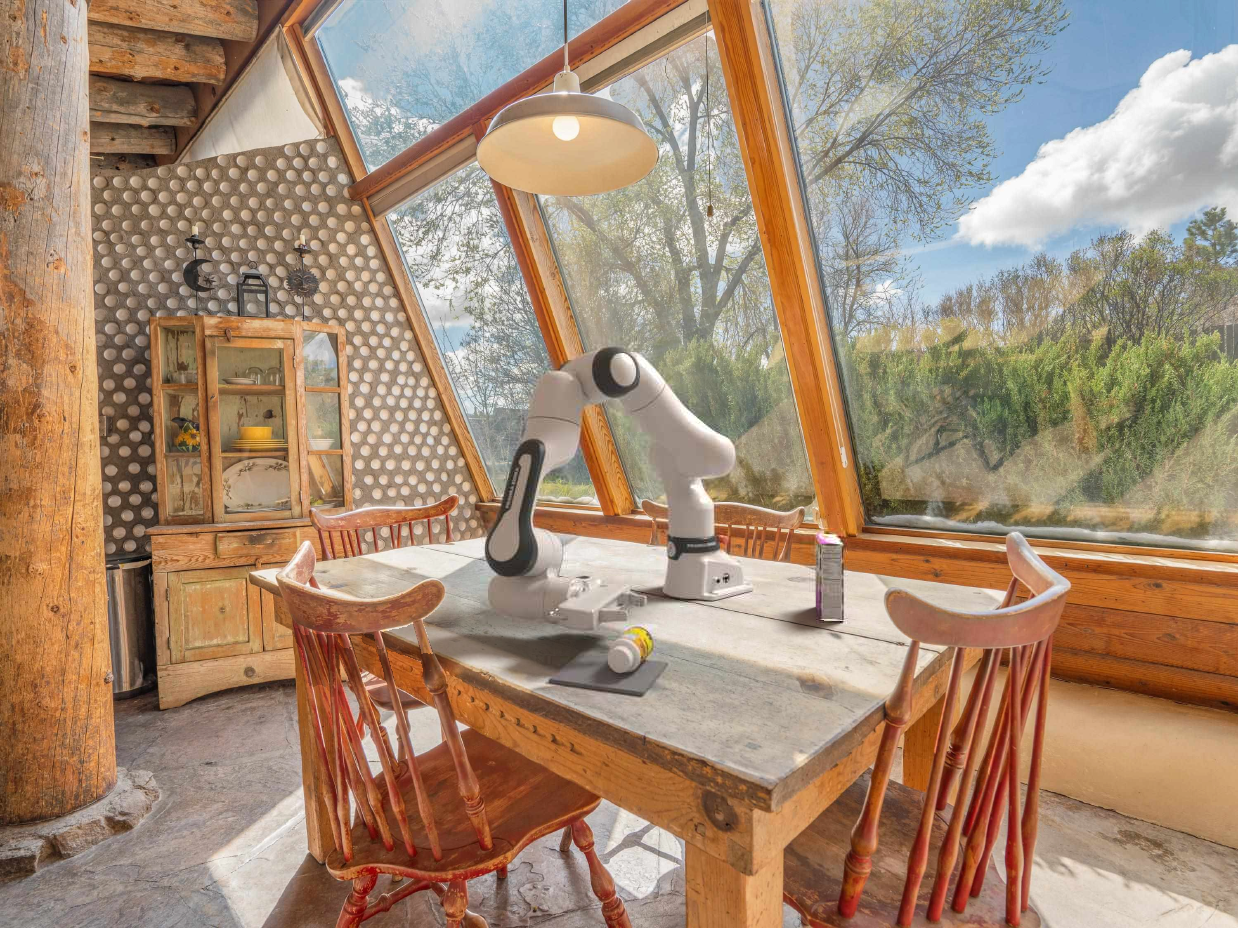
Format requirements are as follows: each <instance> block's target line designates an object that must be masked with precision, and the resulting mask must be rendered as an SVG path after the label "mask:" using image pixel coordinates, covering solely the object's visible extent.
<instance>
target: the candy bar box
mask: <svg viewBox="0 0 1238 928" xmlns="http://www.w3.org/2000/svg"><path fill="white" fill-rule="evenodd" d="M844 546H845V545H844V543H843V542H842V540H841V538H840V537H839V536H838V535H837V534H829V533H823V534H822V533H817V534H814V562H815V563H814V564H815V565H814V567H815V569H814V570H815V572H814V573H815V577H814V579H815V584H814V585H815V608H816V611H817V610H818V611H817V613H819V614H818V617H819V616H820V617H819V620H820V619H837V620H844V621H845V617H844V615H845V612H844V610H845V609H844V608H845V604H844V603H845V601H844V600H845V593H844V590H845V588H844V585H845V584H844V581H845V579H844V577H845V575H844V574H845V573H844V572H845V571H844V568H845V566H844V565H845V564H844V563H845V562H844Z"/></svg>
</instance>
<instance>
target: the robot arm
mask: <svg viewBox="0 0 1238 928" xmlns="http://www.w3.org/2000/svg"><path fill="white" fill-rule="evenodd" d="M532 394H533V395H532V398H531V402H530V406H529V409H528V413H527V419H526V426H525V430H524V434H523V438H522V441H521V444H520V445H519V446H518V447H517V450H516V451H515V453H514V456H513V459H512V462H511V466H510V469H509V473H508V477H507V481H506V484H505V488H504V490H503V491H504V492H503V496H502V499H501V503H500V506H499V511H498V514H497V516H496V519H495V521H494V523H493V524H492V526H491V528H490V530H489V532H488V534H487V536H486V538H485V542H484V555H485V557H484V558H485V560H486V562H487V564H488V566H489V567H490V569H491V570H492V571H493V572H494V573H495V574H496V575H495V576H493V577H492V578H491V580H490V581H489V584H488V588H487V597H488V602H489V605H490V608H491V609H492V610H493V611H494V612H495V613H496V614H497V615H498V616H501V617H503V618H507V619H511V620H516V621H521V622H530V623H533V622H539V621H540V622H541V621H542V622H544V623H545V624H549V625H557V626H559V627H561V628H562V627H564V628H567V629H573V630H580V631H593V630H595V629H596V628H598V627H599V626H600V625H601V624H602V623H612V622H627V621H628V620H629V619H630V616H631V615H630V610H629V608H623V607H625V606H626V605H635V607H641V608H643V607H645V606H646V605H647V603H648V601H647V596H646V595H641V594H637V593H634V592H632V591H631V586H630V585H629V583H626V582H622V581H617V580H609V579H601V578H595V579H594V576H592V575H581V576H576V577H569V576H567V577H562V576H561V577H560V576H559V575H560V572H561V568H562V563H563V559H564V546H563V543H562V541H561V539H560V537H559V536H558V535H557V534H555V532H553V531H550V530H548V529H545V528H541V527H536V526H535V527H534V521H533V518H534V513H535V509H536V505H537V500H538V497H539V494H540V488H541V485H542V483H543V481H544V478H545V476H546V475H547V474H548V473H549V472H551V471H553V470H555V469H559V468H562V467H563V466H565V465H567V464H569V463H570V462H571V461H572V460H573V458H575V455H576V453H577V450H578V447H579V443H580V437H581V432H582V425H583V424H582V423H583V413H584V412H583V411H584V409H585V407H586V406H587V407H588V406H595V405H600V404H603V403H605V402H608V401H610V400H613V399H617V400H618V401H619V403H620V404H621V406H622V407H623V408H624V409H625V410H626V412H627V413H628V414H629V416H630V417H631V419H632V420H633V421H634V422H635V423H636V425H637V426H638V427H639V428H640V429H641V431H642V432H643V433H644V435H646V436H647V437H648V438H650V439H651V440H653V441H652V442H651V444H650V447H649V451H648V457H649V462H650V464H651V466H652V467H653V468H654V469H655V471H656V472H657V474H658V475H659V477H660V480H661V483H662V485H663V486H662V487H663V490H664V492H665V496H666V502H667V516H668V517H667V519H668V520H667V521H668V533H667V534H666V555H667V566H666V573H665V579H664V584H663V588H662V593H664V594H665V595H667V596H669V597H674V598H680V599H685V600H687V599H690V600H692V599H693V600H695V599H696V600H705V601H717V600H721V599H725V598H729V597H732V596H736V595H740V594H743V593H748V592H751V591H752V592H753V591H754V585H753V584H752V583H750V582H749V581H746V580H745V578H744V571H743V568H742V565H741V563H739V561H737V560H736V559H734V558H733V557H732V556H730V555H729V554H728V553H726V552H725V551H724V550H723V549H721V545H720V544H723V545H728V543H729V539H730V538H729V537H728V536H726V535H722V534H721V535H717V534H716V533H715V504H714V502H713V499H712V498H711V497H710V496H709V494H708V493H707V492H706V490H705V487H704V486H703V482H702V480H712V479H716V478H721V477H725V476H726V475H729V474H730V472H731V471H732V470H733V468H734V466H735V464H736V458H737V457H736V449H735V448H736V447H735V446H734V443H733V442H732V440H731V439H729V438H728V437H727V436H724V435H722V434H721V433H719V432H716V431H715V430H713V429H712V428H711V427H709V426H708V425H707V424H705V423H704V422H703V421H702V420H701V419H700V418H698V417H697V416H696V415H695V414H693V413H692V412H691V411H690V410H689V409H688V408H687V407H686V406H685V405H684V404H683V403H682V402H681V401H680V399H679V398H678V397H677V395H676V394H675V393H674V391H673V390H672V389H671V388H670V386H669V384H668V383H667V382H666V380H664V378H663V377H662V376H661V374H660V373H659V372H658V371H657V369H656V368H655V367H654V366H653V365H652V364H651V363H650V362H649V361H648V360H646V358H644V356H642V355H641V354H640V353H639V352H635V351H628V350H626V349H624V348H622V347H618V346H607V347H603V348H602V349H597V350H592V351H588V352H585V353H583V354H581V355H580V356H578V357H575V358H574V359H571V360H567V361H566V362H564V363H563V364H561V365H559V367H558V368H557V369H556V370H553V371H549V372H546V373H543V374H542V375H541V376H540V377H539V379H538V381H537V383H536V386H535V388H534V392H533V393H532Z"/></svg>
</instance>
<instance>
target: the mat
mask: <svg viewBox="0 0 1238 928" xmlns="http://www.w3.org/2000/svg"><path fill="white" fill-rule="evenodd" d="M608 655H609V654H604V653H603V654H602V653H595V652H587V651H586V652H585V651H581V652H580V653H579V654H578V655H576V656H575V657H574V658H573V659H572V660H570V661H569V662H568V663H566V664H565V665H564V666H563V667H561V668H560V669H559V670H558V671H557V672H555V673H554V674H553V675H552V676H551V677H549V678H548V682H549V683H551V684H557V685H564V686H569V687H570V686H571V687H579V688H585V689H591V690H592V689H593V690H598V691H605V692H612V693H620V694H626V695H627V694H628V695H634V696H639V697H644V696H645V695H646V693H647V692H648V691H649V689H650V688H651V687H652V686H653V684H654V683H655V682H656V681H657V680H658V678H659V677H660V676H661V675H662V673H664V671H665V670H666V668H667V667H668V666H669V665H668V664H669V663H668V661H660V660H652V659H645V660H644V661H643V662H642V663H641V664H640V665H639V666H638V667H637V668H636V669H635V670H633V671H631V672H623V673H618V672H615V671H614V670H612V669H611V667H610V666H609V664H608ZM549 683H548V684H549Z"/></svg>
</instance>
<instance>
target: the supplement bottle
mask: <svg viewBox="0 0 1238 928" xmlns="http://www.w3.org/2000/svg"><path fill="white" fill-rule="evenodd" d="M654 640H655V639H654V638H653V635H652V633H651V632H650V631H649V630H648V629H647V628H645V627H643V626H639V625H638V626H637V625H636V626H632V627H630V628H628V630H626V631H625V632H624V633H622V634H621V635H620V636H619V637H618V638H617V639H616V640H614V641H613V642H612V643H611V645H610V646H609V649H608V654H607V655H608V664H609V666H610V667H611V669H612V670H614V671H615V672H618V673H623V672H631V671H633V670H635V669H636V668H637V667H638V666H639V665H640V664H641V663H642V662H643V661H644V660H647V658H648V657H649V655H650V654H651V653H652V651H653V650H654V646H655V641H654Z"/></svg>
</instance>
